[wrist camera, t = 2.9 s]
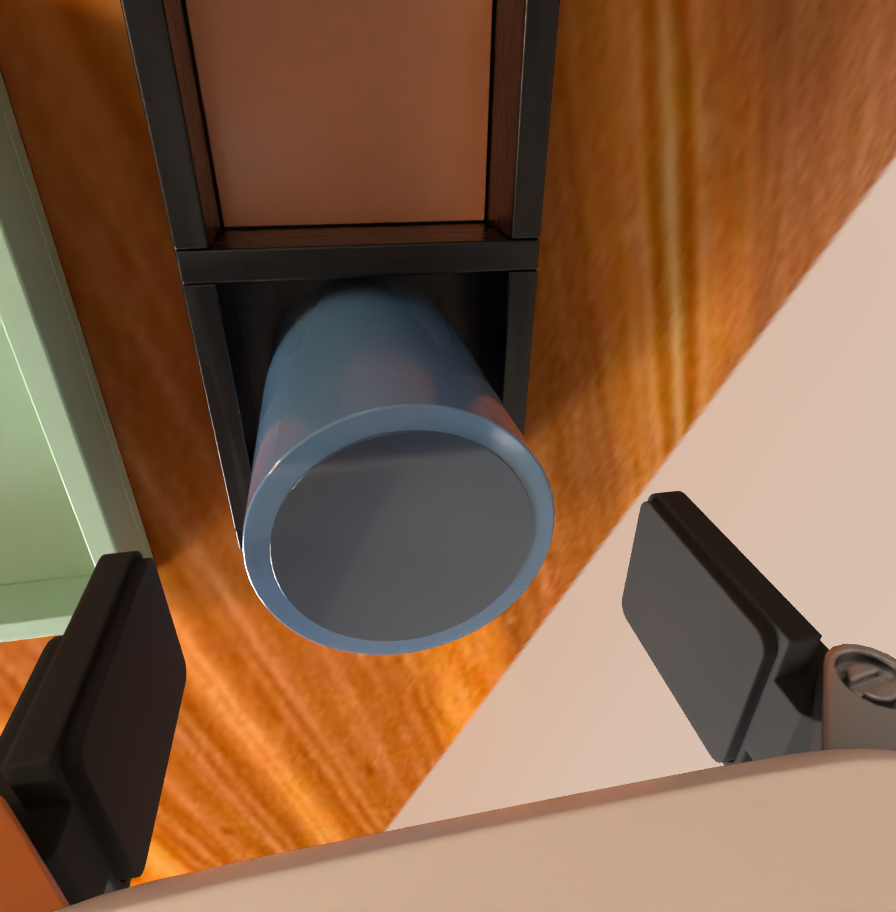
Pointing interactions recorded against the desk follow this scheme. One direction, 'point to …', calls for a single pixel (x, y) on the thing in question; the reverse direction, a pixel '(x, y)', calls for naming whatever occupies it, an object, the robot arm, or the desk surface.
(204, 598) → the desk surface
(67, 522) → the tray
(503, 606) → the blue cup
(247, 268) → the black divided tray
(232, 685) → the desk surface
